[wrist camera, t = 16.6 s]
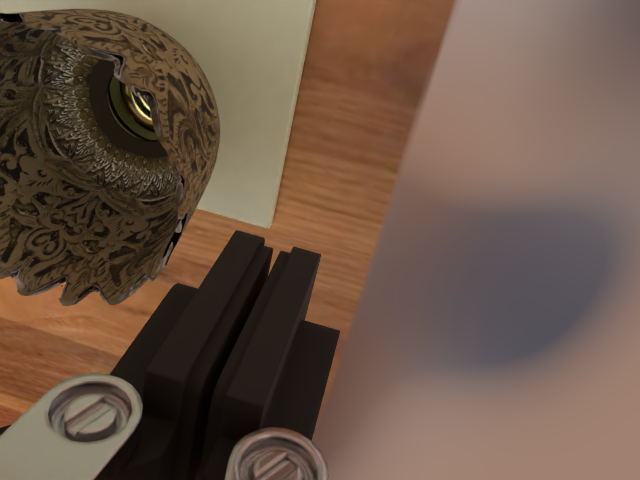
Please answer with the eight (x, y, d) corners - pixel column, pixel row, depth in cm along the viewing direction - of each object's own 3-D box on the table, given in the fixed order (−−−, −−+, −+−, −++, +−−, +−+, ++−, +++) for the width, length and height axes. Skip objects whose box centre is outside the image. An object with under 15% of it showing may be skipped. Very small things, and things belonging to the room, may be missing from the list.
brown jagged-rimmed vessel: (91, -69, 19) (-111, -50, 12) (301, 39, 20) (219, 116, 13) (50, 131, 23) (-122, 231, 16) (225, 218, 23) (131, 351, 17)
